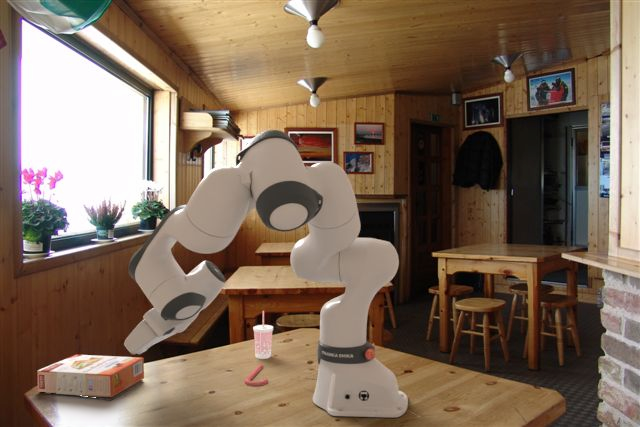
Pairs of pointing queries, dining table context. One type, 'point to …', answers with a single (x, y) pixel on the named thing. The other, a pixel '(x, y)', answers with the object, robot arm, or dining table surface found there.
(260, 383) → the candy cane
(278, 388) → the dining table surface
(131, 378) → the cracker box
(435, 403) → the dining table surface
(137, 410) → the dining table surface
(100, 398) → the rubber mat
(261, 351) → the beverage cup
